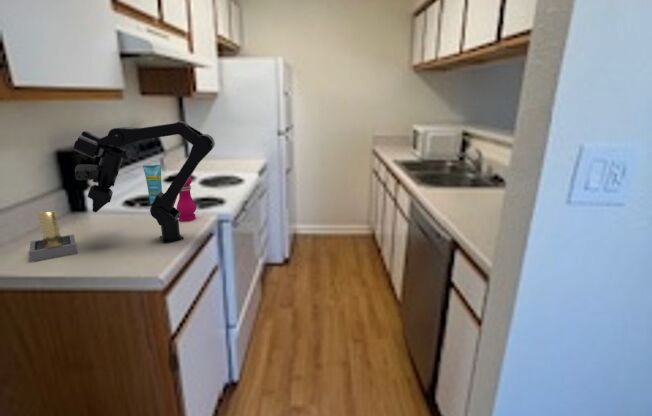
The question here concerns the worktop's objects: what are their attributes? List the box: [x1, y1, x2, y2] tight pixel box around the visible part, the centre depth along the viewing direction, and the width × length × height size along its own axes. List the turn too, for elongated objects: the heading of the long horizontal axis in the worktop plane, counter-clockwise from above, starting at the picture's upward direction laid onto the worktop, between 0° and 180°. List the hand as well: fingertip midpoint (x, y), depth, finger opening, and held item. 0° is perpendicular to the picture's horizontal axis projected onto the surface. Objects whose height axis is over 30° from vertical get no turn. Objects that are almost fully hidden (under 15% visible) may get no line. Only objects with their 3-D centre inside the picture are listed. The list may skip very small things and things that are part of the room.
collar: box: [28, 234, 78, 263], centre depth 119 cm, size 11×11×3 cm
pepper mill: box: [176, 176, 197, 222], centre depth 150 cm, size 7×7×20 cm
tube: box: [142, 164, 163, 208], centre depth 167 cm, size 7×5×19 cm, turn 103°
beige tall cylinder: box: [37, 209, 62, 248], centre depth 118 cm, size 4×4×13 cm
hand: (96, 204), depth 127 cm, fingers open, 9 cm apart
